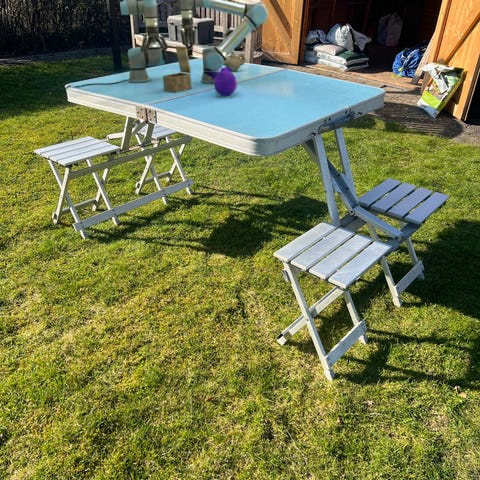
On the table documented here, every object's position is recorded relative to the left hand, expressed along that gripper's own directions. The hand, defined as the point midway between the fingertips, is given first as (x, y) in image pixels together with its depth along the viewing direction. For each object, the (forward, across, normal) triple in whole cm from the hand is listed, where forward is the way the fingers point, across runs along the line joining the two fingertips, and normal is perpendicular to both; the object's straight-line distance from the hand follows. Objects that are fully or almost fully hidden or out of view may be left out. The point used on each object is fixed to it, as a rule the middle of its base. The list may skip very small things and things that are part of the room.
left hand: (156, 61), depth 291 cm
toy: (+20, +26, -34) cm, 47 cm away
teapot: (+21, +90, +19) cm, 94 cm away
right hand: (0, +29, 0) cm, 29 cm away
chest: (+20, +16, 0) cm, 26 cm away
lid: (+2, +22, 0) cm, 22 cm away
